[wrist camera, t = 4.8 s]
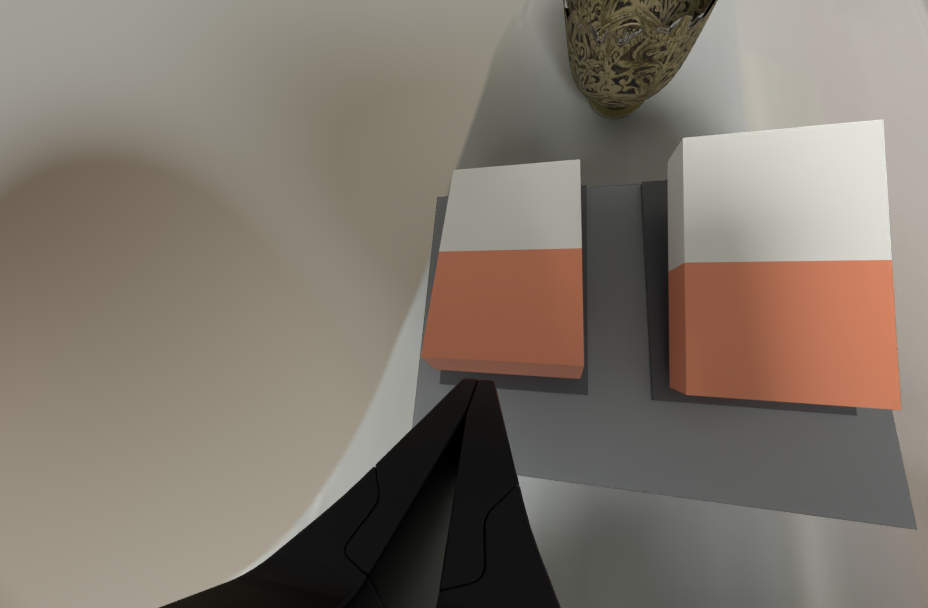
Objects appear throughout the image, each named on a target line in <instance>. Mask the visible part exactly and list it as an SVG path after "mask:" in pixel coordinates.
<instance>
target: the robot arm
mask: <svg viewBox="0 0 928 608" xmlns="http://www.w3.org/2000/svg"><path fill="white" fill-rule="evenodd" d="M159 608H561V607H560V604H559V602H558V599H557V597H556V594H555V591H554V589H553V586H552V584H551V581H550V578H549V576H548V573H547V571H546V568H545V566H544V563H543V560H542V558H541V555H540V553H539V550H538V547H537V544H536V541H535V538H534V535H533V533H532V530H531V527H530V524H529V520H528V516H527V513H526V509H525V506H524V502H523V498H522V494H521V489H520V487H519V482H518V477H517V473H516V469H515V465H514V461H513V457H512V452H511V448H510V444H509V440H508V436H507V432H506V427H505V423H504V419H503V415H502V411H501V406H500V402H499V398H498V394H497V390H496V386H495V382H494V380H491V379H480V380H478V379H474V378H464V379H462V380H461V381H460V382H459V383H458V384H457V385H456V386H455V387H454V388H453V389H452V390H451V391H450V392H449V393H448V394H447V395H446V396H445V397H444V398H443V399H442V400H441V401H440V402H439V403H438V404H437V405H436V406H435V407H434V408H433V409H432V410H431V411H430V412H429V413H428V414H427V415H426V416H425V417H423V418H422V419H421V420H420V421H419V422H418V423H417V424H416V425H415V426H414V427H413V428H412V429H411V430H410V431H409V432H408V433H407V434H406V435H405V436H404V437H403V438H402V439H401V440H400V441H399V442H398V443H397V444H396V445H395V446H394V447H393V448H392V449H391V450H390V451H389V452H388V453H387V454H386V455H385V456H384V457H383V458H382V459H381V460H380V461H379V462H378V463H377V464H376V468H375V467H373V468H372V469H371V470H370V471H369V472H368V473H367V474H366V475H365V476H364V477H363V478H362V479H361V480H359V481H358V482H357V483H356V484H355V485H354V486H353V487H352V488H351V489H350V490H349V491H348V492H347V493H346V494H345V495H343V496H342V497H341V498H340V499H339V500H338V501H337V502H335V503H334V504H333V505H332V506H331V507H330V508H328V509H327V510H326V511H325V512H324V513H323V514H321V515H320V516H319V517H318V518H317V519H315V520H314V521H313V522H312V523H311V524H309V525H308V526H307V527H306V528H304V529H303V530H302V531H301V532H300V533H298V534H297V535H296V536H295V537H294V538H292V539H291V540H290V541H289V542H288V543H286V544H285V545H284V546H283V547H282V548H280V549H279V550H278V551H277V552H276V553H274V554H273V555H272V556H271V557H269V558H268V559H267V560H265V561H264V562H263V563H261V564H260V565H258V566H257V567H255V568H254V569H252V570H250V571H249V572H247V573H245V574H244V575H242V576H240V577H238V578H236V579H233V580H231V581H229V582H226V583H223V584H221V585H218V586H215V587H213V588H210V589H207V590H205V591H202V592H199V593H197V594H194V595H191V596H189V597H186V598H184V599H181V600H178V601H175V602H173V603H170V604H167V605H165V606H162V607H159Z"/></svg>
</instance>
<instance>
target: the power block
mask: <svg viewBox="0 0 928 608" xmlns="http://www.w3.org/2000/svg"><path fill="white" fill-rule="evenodd" d="M448 197H449V196H448ZM448 197H438V198H437V206H436V215H435V225H434V233H433V242H432V251H431V261H430V270H429V279H428V288H427V297H426V306H425V316H424V325H423V334H422V343H421V352H422V346H423V341H424V335H425V329H426V323H427V318H428V312H429V306H430V300H431V295H432V289H433V283H434V278H435V272H436V266H437V260H438V255H439V249H440V243H441V237H442V232H443V226H444V220H445V215H446V209H447V203H448ZM581 231H582V283H583V335H584V368H583V371H582V375H581V378H580V379H574V378H558V377H543V376H528V375H512V374H497V373H482V372H466V371H451V370H435V369H434V368H433V367H432V366H431V365H430V364H428V363H427V362H426V361H425V360H424V359H423V358H422V357H421V352H420V361H419V371H418V380H417V389H416V398H415V407H414V416H413V426H412V428H413V427H414V426H415V425H416V424H417V423H418V422H419V421H420V420H421V419H422V418H423V417H425V416H426V415H427V414H428V413H429V412H430V411H431V410H432V409H433V408H434V407H435V406H436V405H437V404H438V403H439V402H440V401H441V400H442V399H443V398H444V397H445V396H446V395H447V394H448V393H449V392H450V391H451V390H452V389H453V388H454V387H455V386H456V385H457V384H458V383H459V382H460V381H461V380H462V379H464V378H474V379H478V380H480V379H491V380H494V382H495V386H496V390H497V394H498V398H499V402H500V406H501V411H502V415H503V419H504V423H505V427H506V432H507V436H508V440H509V444H510V448H511V452H512V457H513V461H514V465H515V469H516V473H517V475H520V476H527V477H534V478H542V479H549V480H556V481H564V482H571V483H578V484H586V485H593V486H600V487H608V488H615V489H622V490H630V491H637V492H644V493H652V494H659V495H666V496H674V497H681V498H688V499H696V500H703V501H710V502H718V503H725V504H732V505H740V506H747V507H754V508H762V509H769V510H776V511H784V512H791V513H798V514H806V515H813V516H820V517H828V518H835V519H842V520H850V521H857V522H864V523H872V524H879V525H886V526H894V527H901V528H908V529H916V530H917V527H916V523H915V518H914V513H913V508H912V504H911V499H910V494H909V489H908V485H907V480H906V475H905V470H904V466H903V461H902V456H901V452H900V447H899V442H898V437H897V433H896V428H895V423H894V418H893V414H892V409H878V408H864V407H850V406H836V405H822V404H807V403H793V402H779V401H765V400H751V399H737V398H723V397H709V396H695V395H686V394H683V393H681V392H679V391H677V390H674V389H672V388H670V375H669V278H668V181H667V180H665V181H650V182H642V184H633V185H618V186H602V187H587V186H581Z"/></svg>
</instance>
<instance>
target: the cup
mask: <svg viewBox="0 0 928 608" xmlns="http://www.w3.org/2000/svg"><path fill="white" fill-rule="evenodd" d="M716 2H717V0H563V3H564V13H565V25H566V36H567V47H568V56H569V62H570V68H571V72H572V75H573V78H574V81H575V83H576V85H577V86H578V88H579V90H580V91H581V92H582V93H583V94H584V95H585V96H586V97H587V98H588V99H589V100H590V103H591V105H592V107H593V109H594V110H595V111H596V112H597V113H598V114H599V115H601V116H603V117H606V118H612V119H616V118H622V117H625V116H628V115H630V114H632V113H633V112H635V111H636V110H637V109H638V108H639V107H640V106H641V105H642V104H643V103H644V101H645V100H647V99H649V98H650V97H652V96H653V95H655V94H656V93H658V92H659V91H660V90H661V89H663V88H664V87H665V86H666V85H667V84H668V83H669V82H670V81H671V80H672V78H673V77H674V76H675V74H676V73H677V72H678V70H679V69H680V68H681V66H682V64H683V63H684V61H685V60H686V58H687V56H688V54H689V53H690V51H691V49H692V47H693V46H694V44H695V42H696V40H697V38H698V36H699V35H700V33H701V31H702V29H703V27H704V25H705V23H706V21H707V20H708V18H709V16H710V14H711V12H712V10H713V8H714V6H715V4H716Z"/></svg>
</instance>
